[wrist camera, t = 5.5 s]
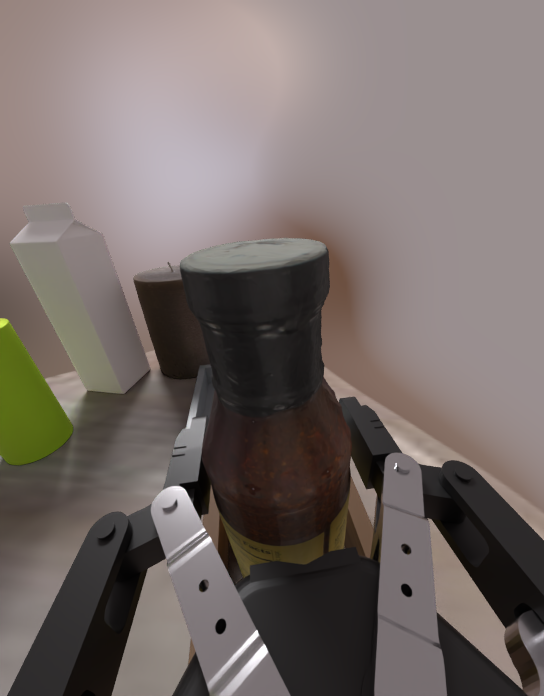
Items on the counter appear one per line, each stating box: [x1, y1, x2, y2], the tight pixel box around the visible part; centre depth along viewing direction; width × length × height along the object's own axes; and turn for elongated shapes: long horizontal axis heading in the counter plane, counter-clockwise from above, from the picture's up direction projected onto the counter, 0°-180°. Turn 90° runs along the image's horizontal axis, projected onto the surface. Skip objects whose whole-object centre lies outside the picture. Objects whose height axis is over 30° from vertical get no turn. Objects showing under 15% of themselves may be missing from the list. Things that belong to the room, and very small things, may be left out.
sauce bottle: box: [180, 238, 352, 578], centre depth 12 cm, size 6×6×20 cm
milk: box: [10, 203, 150, 394], centre depth 32 cm, size 6×6×22 cm
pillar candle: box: [133, 262, 210, 379], centre depth 37 cm, size 10×10×15 cm
